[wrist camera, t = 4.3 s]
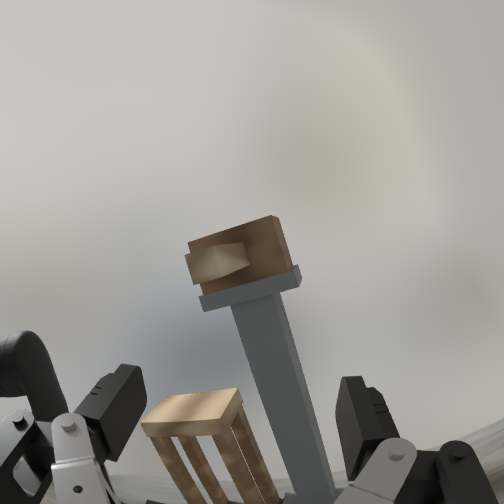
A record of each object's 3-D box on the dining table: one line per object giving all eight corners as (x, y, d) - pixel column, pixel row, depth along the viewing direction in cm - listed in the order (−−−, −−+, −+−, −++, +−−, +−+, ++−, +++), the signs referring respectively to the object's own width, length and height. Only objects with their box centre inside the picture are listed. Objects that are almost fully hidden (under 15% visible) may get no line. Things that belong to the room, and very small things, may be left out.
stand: (282, 523, 28) (194, 297, 28) (287, 498, 33) (211, 288, 33) (360, 512, 26) (299, 268, 26) (358, 487, 31) (302, 262, 31)
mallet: (162, 316, 20) (141, 246, 20) (220, 286, 33) (206, 241, 33) (275, 287, 19) (250, 207, 19) (293, 265, 31) (278, 217, 31)
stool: (203, 529, 29) (139, 422, 29) (217, 499, 36) (166, 396, 36) (273, 531, 27) (219, 418, 27) (281, 497, 34) (237, 387, 34)
